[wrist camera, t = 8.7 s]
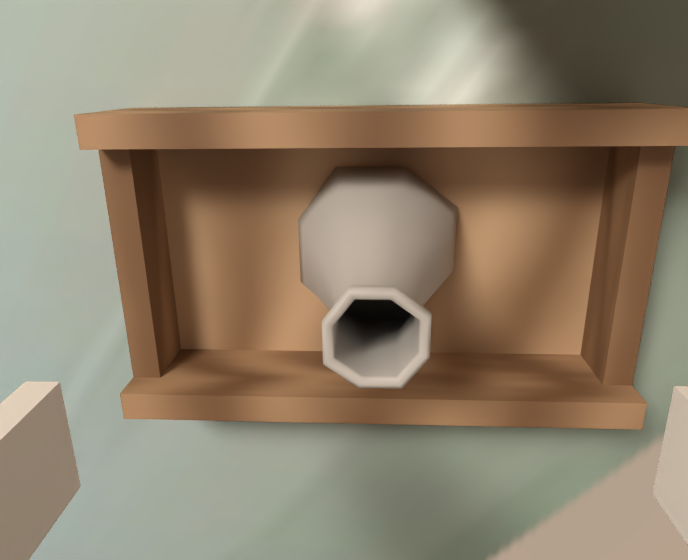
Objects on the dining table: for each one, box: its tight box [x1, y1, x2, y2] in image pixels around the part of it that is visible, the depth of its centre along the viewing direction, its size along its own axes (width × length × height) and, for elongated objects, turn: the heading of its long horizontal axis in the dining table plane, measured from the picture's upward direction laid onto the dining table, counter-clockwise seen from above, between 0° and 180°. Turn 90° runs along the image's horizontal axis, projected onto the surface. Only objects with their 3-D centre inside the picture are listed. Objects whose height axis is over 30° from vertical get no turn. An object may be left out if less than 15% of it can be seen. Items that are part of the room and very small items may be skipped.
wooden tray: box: [74, 103, 688, 429], centre depth 24 cm, size 21×12×5 cm, turn 91°
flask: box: [298, 166, 457, 389], centre depth 20 cm, size 7×7×10 cm
